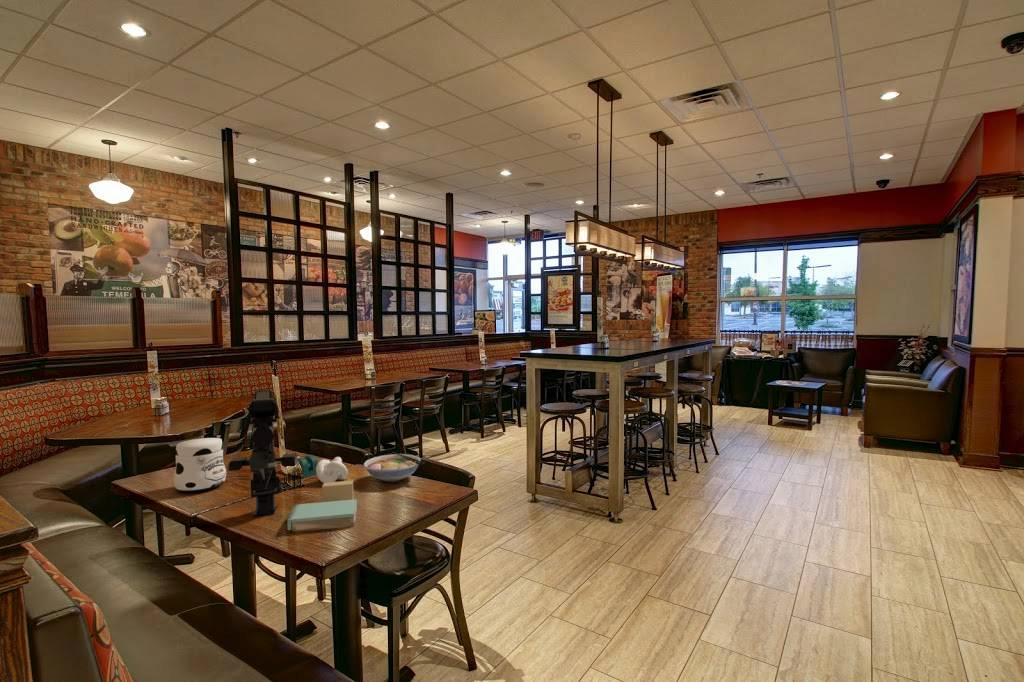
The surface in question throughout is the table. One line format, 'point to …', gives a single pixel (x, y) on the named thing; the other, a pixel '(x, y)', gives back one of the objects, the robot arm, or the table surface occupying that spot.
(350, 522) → the box
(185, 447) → the milk container
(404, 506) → the table surface
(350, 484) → the tan rectangular block
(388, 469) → the ramen bowl
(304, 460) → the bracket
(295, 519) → the lid
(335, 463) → the white lumpy figurine
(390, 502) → the table surface
